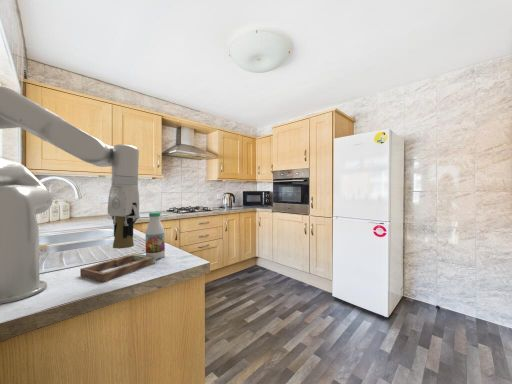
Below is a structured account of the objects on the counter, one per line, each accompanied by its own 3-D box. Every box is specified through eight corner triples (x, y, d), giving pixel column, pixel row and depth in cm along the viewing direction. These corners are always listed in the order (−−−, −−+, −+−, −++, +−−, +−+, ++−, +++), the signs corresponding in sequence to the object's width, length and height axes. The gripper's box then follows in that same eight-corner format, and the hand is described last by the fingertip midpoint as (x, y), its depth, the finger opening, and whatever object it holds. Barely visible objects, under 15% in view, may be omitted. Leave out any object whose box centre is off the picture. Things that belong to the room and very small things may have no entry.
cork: (137, 245, 72) (138, 213, 72) (117, 249, 67) (118, 214, 67) (128, 243, 76) (129, 212, 76) (109, 246, 71) (110, 213, 71)
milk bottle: (143, 257, 96) (143, 212, 96) (161, 253, 101) (160, 211, 101) (148, 261, 90) (148, 213, 90) (167, 257, 95) (166, 212, 95)
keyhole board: (103, 282, 69) (103, 274, 69) (80, 275, 75) (80, 268, 75) (155, 262, 88) (155, 256, 87) (133, 259, 93) (133, 253, 93)
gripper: (98, 181, 72) (96, 236, 72) (131, 181, 65) (129, 242, 65) (120, 182, 79) (118, 232, 78) (152, 183, 72) (150, 237, 72)
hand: (123, 236), depth 72 cm, fingers closed on cork, 3 cm apart
